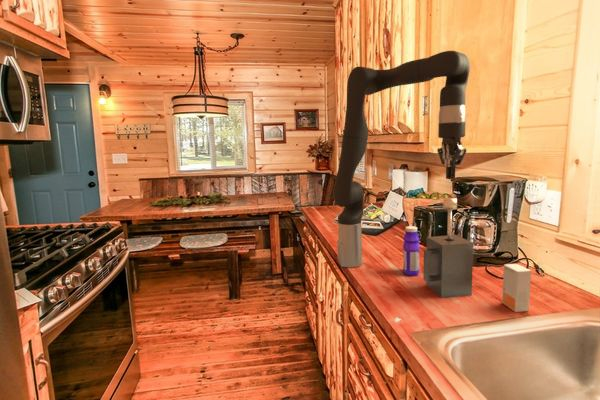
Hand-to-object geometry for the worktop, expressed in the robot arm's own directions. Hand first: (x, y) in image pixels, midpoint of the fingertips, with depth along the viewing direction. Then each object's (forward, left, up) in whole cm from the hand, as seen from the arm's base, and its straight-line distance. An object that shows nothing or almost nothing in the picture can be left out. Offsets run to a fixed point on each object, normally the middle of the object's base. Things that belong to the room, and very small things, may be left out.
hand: (450, 178), depth 111 cm
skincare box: (+12, -15, -36) cm, 41 cm away
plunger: (0, 0, -26) cm, 26 cm away
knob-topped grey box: (-1, 0, -36) cm, 36 cm away
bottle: (-5, +17, -36) cm, 41 cm away
